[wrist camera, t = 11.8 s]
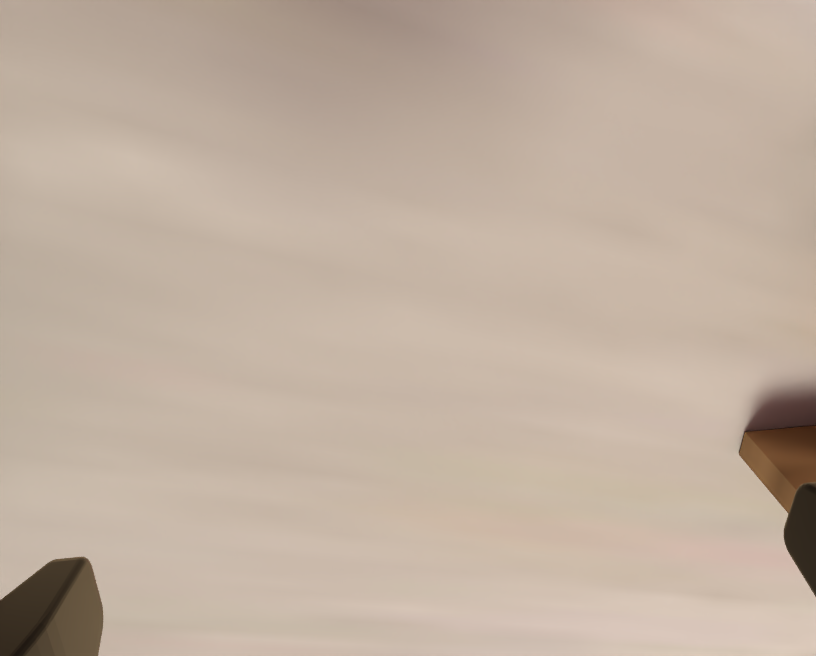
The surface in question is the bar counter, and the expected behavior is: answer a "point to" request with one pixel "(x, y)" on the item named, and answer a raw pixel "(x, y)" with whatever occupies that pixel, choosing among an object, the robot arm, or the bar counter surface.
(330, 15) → the bar counter surface
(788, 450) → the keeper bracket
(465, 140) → the bar counter surface
